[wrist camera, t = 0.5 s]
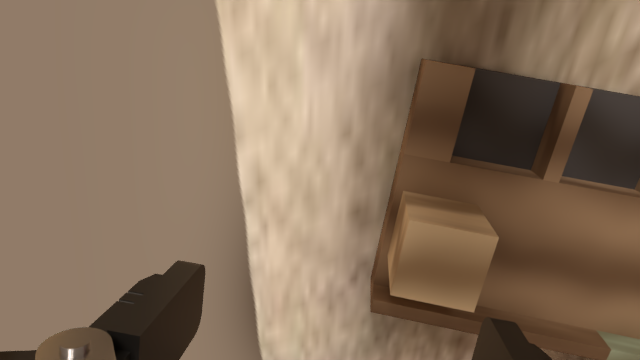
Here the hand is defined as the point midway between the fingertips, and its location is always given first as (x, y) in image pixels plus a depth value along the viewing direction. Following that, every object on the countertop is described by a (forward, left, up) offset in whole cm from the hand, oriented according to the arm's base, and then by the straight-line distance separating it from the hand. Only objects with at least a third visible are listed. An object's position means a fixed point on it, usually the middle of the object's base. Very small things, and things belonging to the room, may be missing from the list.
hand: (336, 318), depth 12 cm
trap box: (+1, +14, -20) cm, 24 cm away
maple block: (+4, +6, -17) cm, 18 cm away
